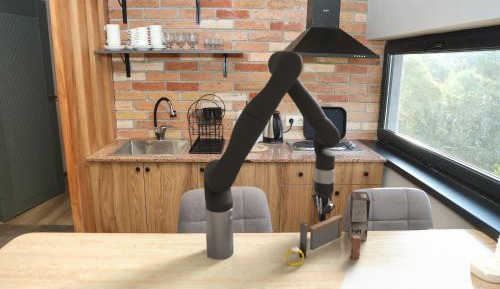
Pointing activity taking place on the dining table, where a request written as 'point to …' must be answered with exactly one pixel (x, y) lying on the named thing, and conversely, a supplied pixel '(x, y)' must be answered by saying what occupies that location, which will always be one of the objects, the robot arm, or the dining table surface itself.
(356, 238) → the block
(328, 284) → the dining table surface
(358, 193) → the coffee box
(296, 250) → the watch
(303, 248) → the gate post
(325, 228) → the gate
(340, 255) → the dining table surface
